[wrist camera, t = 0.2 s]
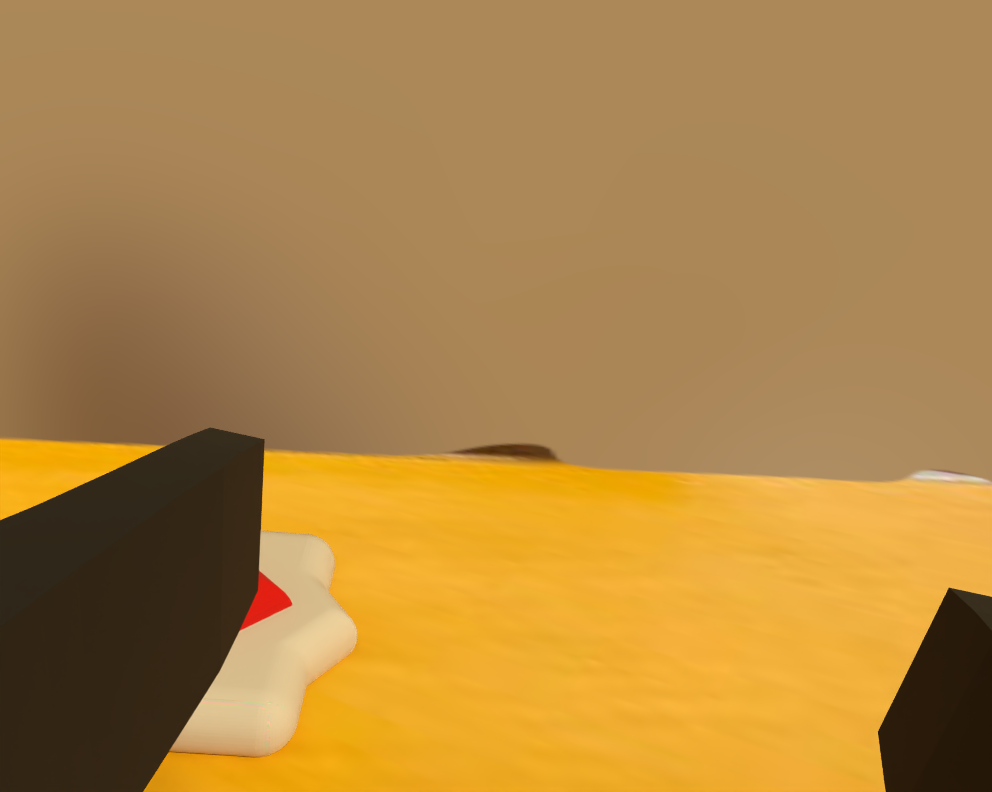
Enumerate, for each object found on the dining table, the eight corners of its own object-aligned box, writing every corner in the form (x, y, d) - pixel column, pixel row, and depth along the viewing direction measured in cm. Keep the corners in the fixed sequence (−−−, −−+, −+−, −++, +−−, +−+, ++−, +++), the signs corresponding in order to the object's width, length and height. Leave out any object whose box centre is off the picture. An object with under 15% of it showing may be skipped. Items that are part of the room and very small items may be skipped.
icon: (339, 690, 31) (46, 670, 31) (335, 778, 33) (59, 761, 32) (375, 502, 42) (160, 485, 42) (371, 576, 44) (165, 560, 43)
